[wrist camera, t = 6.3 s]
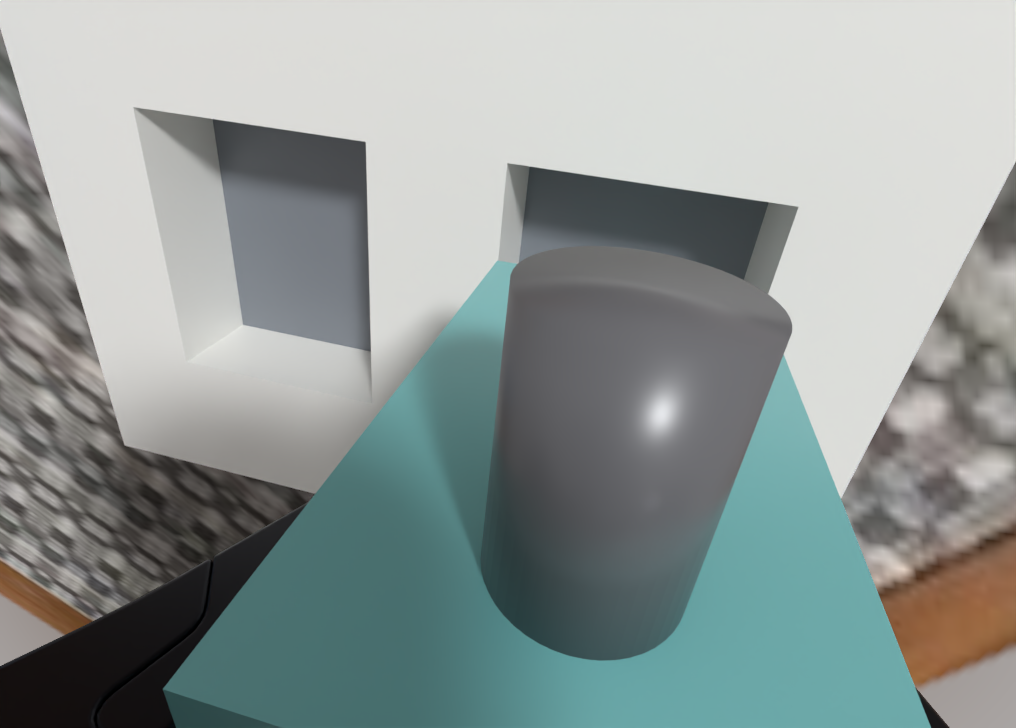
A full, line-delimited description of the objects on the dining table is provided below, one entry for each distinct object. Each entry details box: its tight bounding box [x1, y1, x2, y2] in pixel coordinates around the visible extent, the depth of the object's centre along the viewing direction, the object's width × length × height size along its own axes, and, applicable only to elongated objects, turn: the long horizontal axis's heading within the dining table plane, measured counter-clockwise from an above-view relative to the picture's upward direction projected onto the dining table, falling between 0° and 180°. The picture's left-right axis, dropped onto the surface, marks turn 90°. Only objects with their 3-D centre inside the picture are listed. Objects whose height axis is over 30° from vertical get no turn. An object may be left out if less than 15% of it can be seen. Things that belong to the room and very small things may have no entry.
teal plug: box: [163, 246, 931, 728], centre depth 6 cm, size 7×4×7 cm, turn 174°
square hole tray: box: [0, 0, 1016, 498], centre depth 15 cm, size 14×20×4 cm
